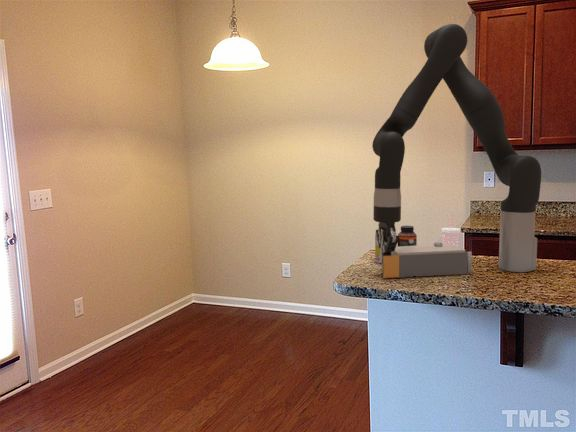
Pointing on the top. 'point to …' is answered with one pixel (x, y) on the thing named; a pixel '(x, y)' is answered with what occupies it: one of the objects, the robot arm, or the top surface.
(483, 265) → the top surface
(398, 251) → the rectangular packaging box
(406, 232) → the supplement bottle
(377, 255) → the supplement bottle
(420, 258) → the side door
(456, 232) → the beverage cup
